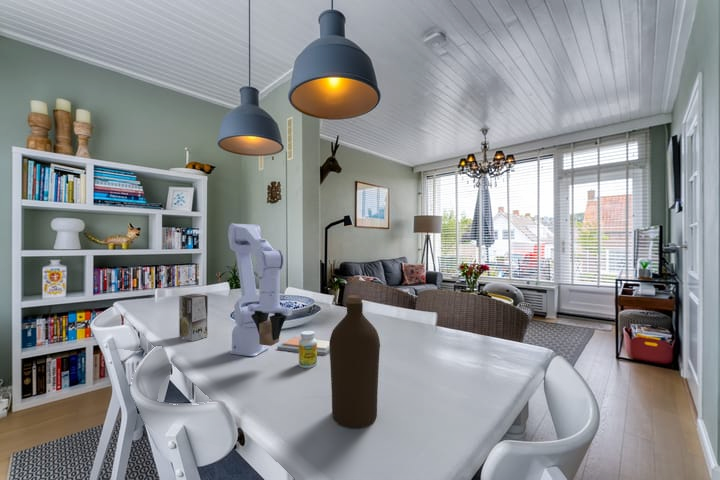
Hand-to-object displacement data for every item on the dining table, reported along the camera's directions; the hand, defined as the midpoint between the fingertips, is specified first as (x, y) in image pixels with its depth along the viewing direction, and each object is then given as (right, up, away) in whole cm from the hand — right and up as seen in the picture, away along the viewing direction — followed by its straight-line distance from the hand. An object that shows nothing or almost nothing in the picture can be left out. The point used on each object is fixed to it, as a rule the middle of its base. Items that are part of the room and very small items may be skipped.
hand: (269, 338), depth 90 cm
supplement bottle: (+11, -9, +2) cm, 14 cm away
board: (+9, -9, +17) cm, 21 cm away
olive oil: (+26, -8, -25) cm, 37 cm away
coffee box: (-37, -9, +28) cm, 47 cm away
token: (0, -1, 0) cm, 1 cm away
